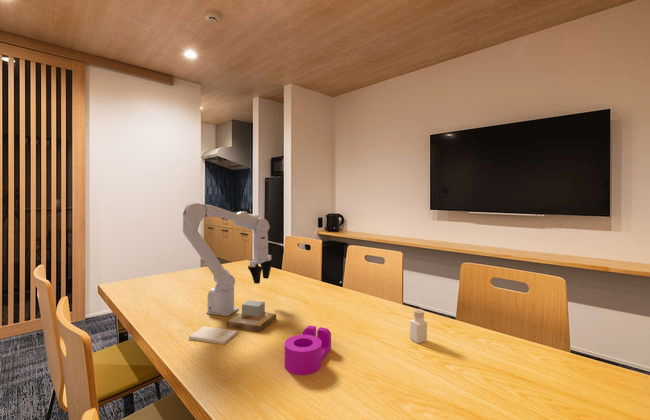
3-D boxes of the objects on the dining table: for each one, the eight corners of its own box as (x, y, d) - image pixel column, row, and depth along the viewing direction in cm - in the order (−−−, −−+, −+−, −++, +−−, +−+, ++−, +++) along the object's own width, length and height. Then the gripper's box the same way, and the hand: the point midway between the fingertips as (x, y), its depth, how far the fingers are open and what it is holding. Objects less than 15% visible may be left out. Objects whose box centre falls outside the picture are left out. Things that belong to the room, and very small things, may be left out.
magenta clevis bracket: (313, 379, 80) (313, 354, 79) (277, 371, 83) (277, 347, 83) (333, 350, 95) (333, 329, 94) (302, 344, 98) (302, 324, 98)
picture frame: (226, 326, 110) (226, 321, 110) (245, 314, 121) (245, 309, 121) (260, 331, 106) (260, 325, 106) (276, 318, 118) (276, 313, 117)
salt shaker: (417, 344, 98) (418, 314, 98) (408, 339, 102) (409, 309, 101) (427, 341, 100) (428, 311, 100) (418, 336, 104) (418, 307, 103)
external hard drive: (204, 330, 108) (237, 334, 105) (188, 341, 100) (224, 346, 97) (204, 325, 108) (237, 329, 105) (188, 336, 100) (224, 340, 97)
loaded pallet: (241, 318, 112) (241, 304, 112) (248, 313, 117) (248, 300, 116) (259, 320, 110) (259, 306, 110) (265, 316, 115) (265, 302, 114)
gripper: (261, 251, 121) (261, 286, 122) (277, 245, 135) (278, 276, 136) (244, 250, 124) (245, 285, 124) (262, 244, 137) (263, 275, 138)
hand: (261, 280), depth 130 cm, fingers open, 7 cm apart
